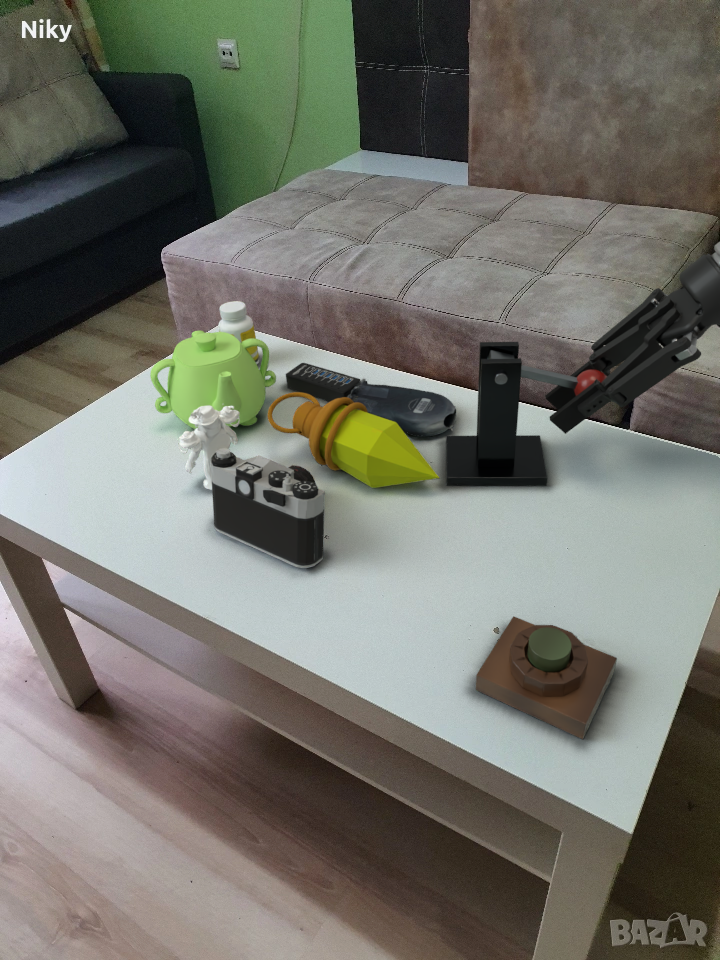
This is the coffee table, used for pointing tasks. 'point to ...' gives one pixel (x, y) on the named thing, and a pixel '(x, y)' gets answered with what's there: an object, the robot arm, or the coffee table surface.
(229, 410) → the flower shoulder figurine
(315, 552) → the camera
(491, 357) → the lever
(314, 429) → the plumb bob
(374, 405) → the electronic device
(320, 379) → the multiport hub
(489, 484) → the bracket
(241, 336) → the supplement bottle
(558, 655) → the button
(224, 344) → the teapot
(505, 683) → the button block
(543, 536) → the coffee table surface
